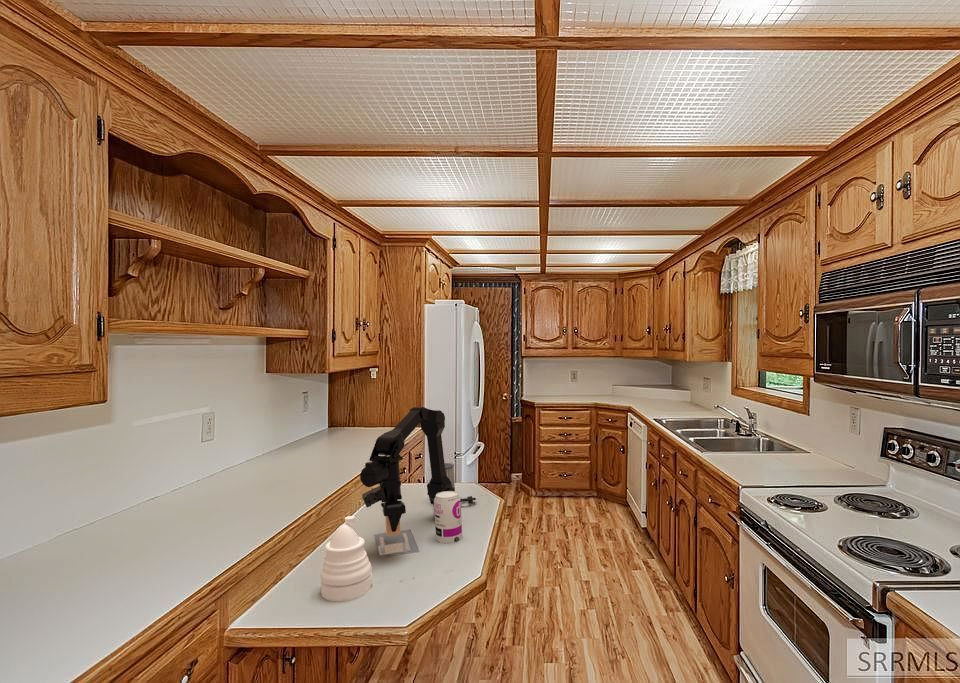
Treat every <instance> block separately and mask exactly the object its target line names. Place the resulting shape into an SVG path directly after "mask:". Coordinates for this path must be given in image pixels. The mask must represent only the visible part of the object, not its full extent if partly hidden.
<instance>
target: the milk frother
mask: <svg viewBox="0 0 960 683" xmlns="http://www.w3.org/2000/svg"><path fill="white" fill-rule="evenodd" d="M444 463H445V472H446V475H447V477H448V478H449V480H450V481H451V483H452V488H453V490H454V491H455V492H456V489H455V488H456V487H455V472H454V471H455V470H454V467H455V464H454V463H451V462H444ZM476 500H477V498H476V497H473V496H472V495H470V496H467V497H465V498H460V503H463V502H464V503H465V502H467V503H468V504H473V503H474V501H476Z"/></svg>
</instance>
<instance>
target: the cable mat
mask: <svg viewBox="0 0 960 683" xmlns="http://www.w3.org/2000/svg"><path fill="white" fill-rule="evenodd" d="M400 533H401V534H396V535H389V536H387V534H386V532H382V533H376V534H373V536H374V541H375V546H376V547H375V548H376V551H377V552H376V553H377V557H378V559H383V558H389V557H395V556H402V555H409V554H414V553H420V552H421V551H420V549H419V546H418V544H417V542H416V539H415V536H414V533H413V532H412V529H411V528H410V529H403V530H400ZM403 533H406V535H407V538H408V544H409V547H410V550H411V552H406V553H400V554H394V555H387V556H381V557H380V554H379V549H378V546H380V538H379V537H381V536H383V539H384V545H389V544H396V543H402V542H403Z"/></svg>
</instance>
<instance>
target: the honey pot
mask: <svg viewBox="0 0 960 683" xmlns="http://www.w3.org/2000/svg"><path fill="white" fill-rule="evenodd" d="M355 518H356V516H355V515H348V516H345V517H344V521H345V523H344V524H341V525H340V526H338V527H337V529H336V530H335V531H334V533H333V535H332V536H331V539H330V541H328V542H327V543H326V544H325V545H324V546H325V547H324V549H325V551H326V554H325V557H324V560H323V564H322V569H321V571H320V588H321V590H320V591H321V596H322V598H323V599H325V600H327V601H330V602H345V601H351V600H355V599H358V598H360V597H363V596H364V595H366V594H368V593H369V592H370V591H371V590H372V588H373V574H372V573H373V572H372V571H373V570H372V564H371V562H370V560H369V556H368V555H367V551H366V550H365V548H364V545H365V539H364V538H363V537H361V536H359V535H358V534H357V533H356V531H355V530H354V529H353V527H352V525H353V524H354V523H355Z"/></svg>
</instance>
